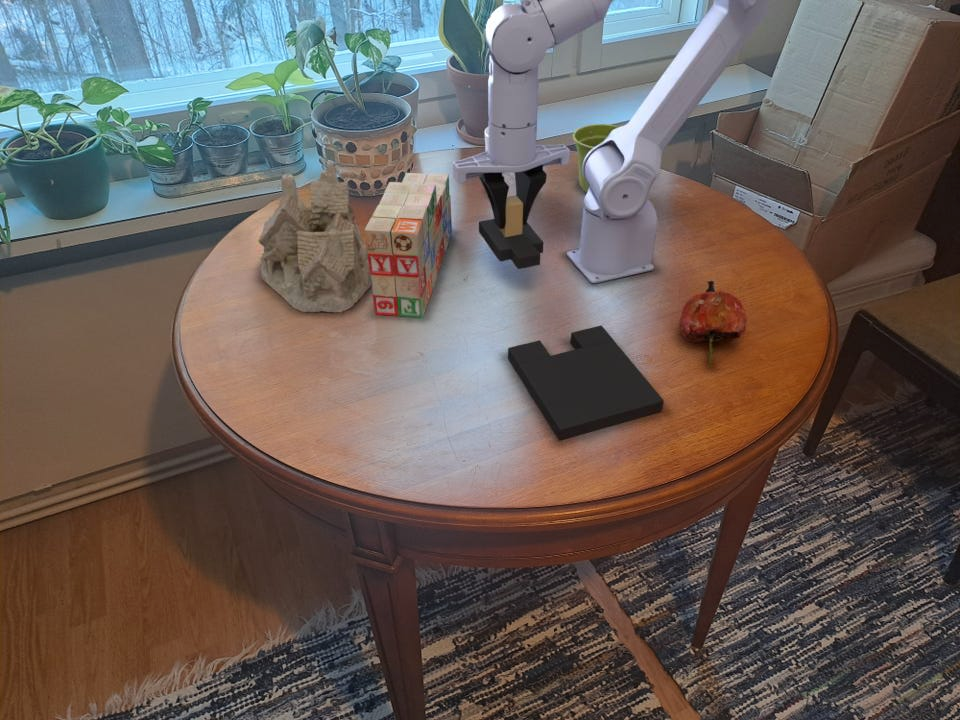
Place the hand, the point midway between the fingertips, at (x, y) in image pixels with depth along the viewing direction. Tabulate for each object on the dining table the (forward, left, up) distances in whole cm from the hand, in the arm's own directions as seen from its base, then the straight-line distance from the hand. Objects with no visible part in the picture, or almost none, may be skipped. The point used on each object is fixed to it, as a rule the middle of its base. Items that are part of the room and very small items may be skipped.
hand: (510, 223), depth 91 cm
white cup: (-9, -22, -8) cm, 25 cm away
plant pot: (-23, -18, -8) cm, 30 cm away
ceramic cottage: (+25, -8, -8) cm, 27 cm away
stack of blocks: (+12, -5, -8) cm, 15 cm away
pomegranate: (-16, +23, -8) cm, 29 cm away
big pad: (+1, +24, -7) cm, 25 cm away
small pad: (0, +1, -3) cm, 3 cm away
